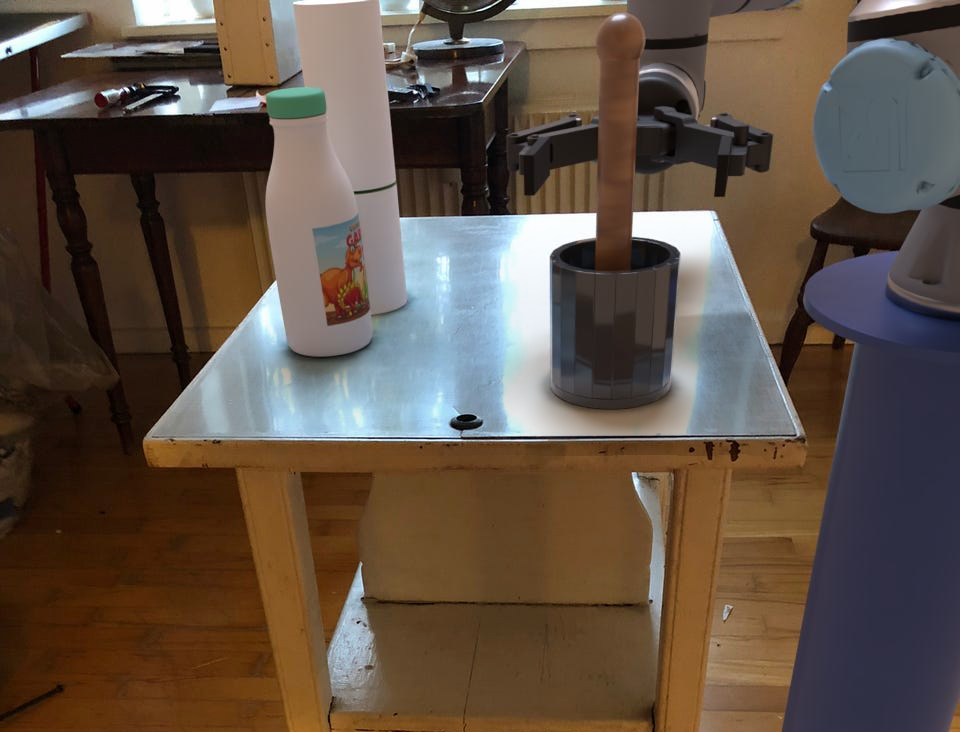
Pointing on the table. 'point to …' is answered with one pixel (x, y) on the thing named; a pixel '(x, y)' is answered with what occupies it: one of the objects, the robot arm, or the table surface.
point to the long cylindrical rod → (617, 138)
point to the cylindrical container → (358, 128)
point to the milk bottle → (314, 231)
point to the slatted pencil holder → (612, 325)
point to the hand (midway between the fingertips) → (623, 176)
